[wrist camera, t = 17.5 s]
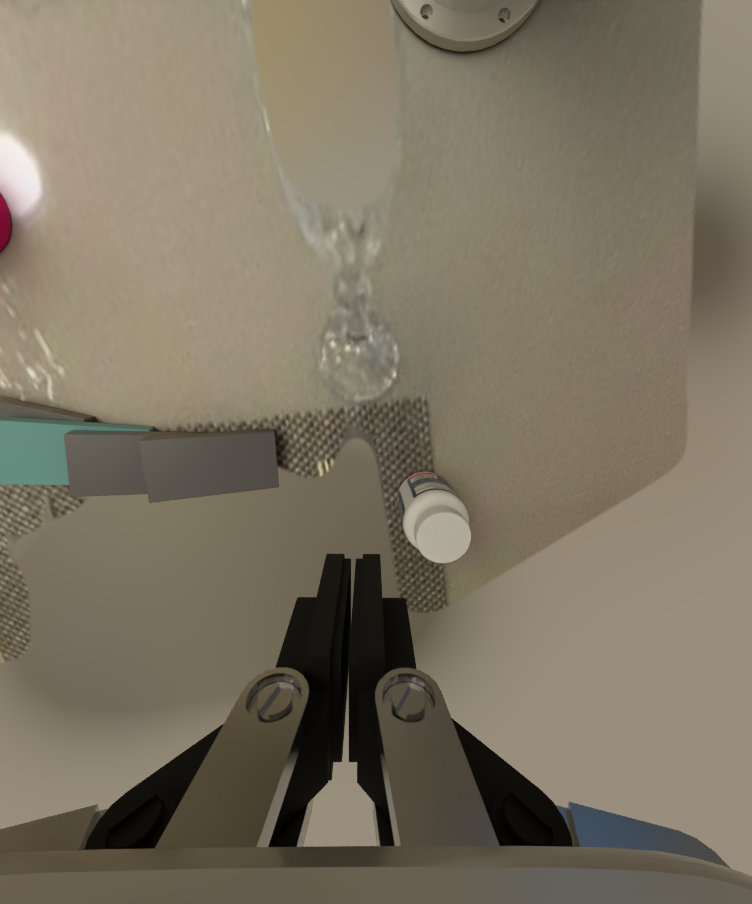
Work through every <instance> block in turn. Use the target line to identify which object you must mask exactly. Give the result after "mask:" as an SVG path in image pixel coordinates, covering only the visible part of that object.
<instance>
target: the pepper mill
mask: <svg viewBox="0 0 752 904" xmlns="http://www.w3.org/2000/svg"><path fill="white" fill-rule="evenodd" d="M10 232H11V218H10V214H9V211H8V208H7V206H6V203H5V201H4V199H3V198H2V196H1V195H0V251H1V250H2V249H3V248H4V246H5V245H6V244H7V242H8V240H9V236H10Z"/></svg>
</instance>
